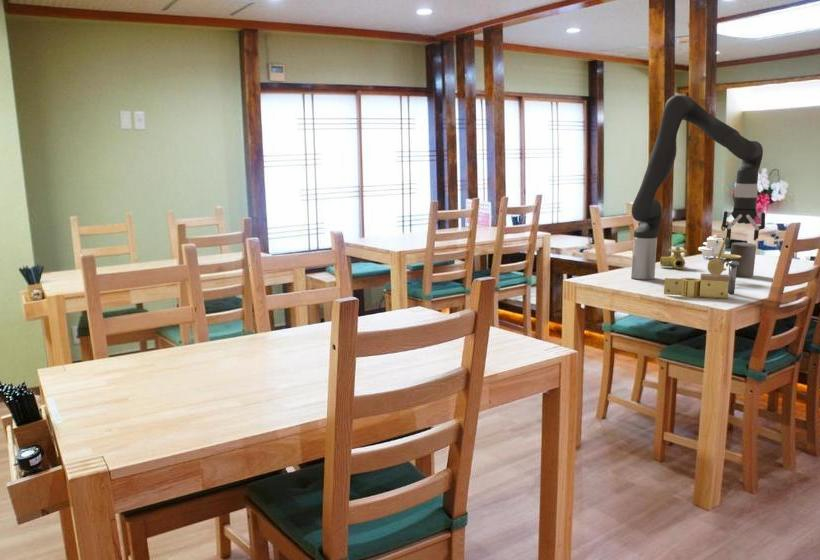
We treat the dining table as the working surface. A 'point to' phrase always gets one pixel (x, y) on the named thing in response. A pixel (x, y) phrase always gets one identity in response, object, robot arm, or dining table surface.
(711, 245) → the mechanical part
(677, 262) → the ball valve
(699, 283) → the hinge block
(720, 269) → the wall sconce
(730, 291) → the hinge pin
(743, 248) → the pillar candle
